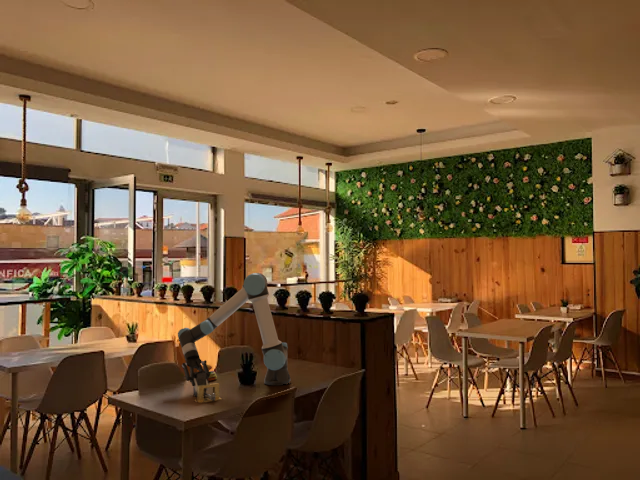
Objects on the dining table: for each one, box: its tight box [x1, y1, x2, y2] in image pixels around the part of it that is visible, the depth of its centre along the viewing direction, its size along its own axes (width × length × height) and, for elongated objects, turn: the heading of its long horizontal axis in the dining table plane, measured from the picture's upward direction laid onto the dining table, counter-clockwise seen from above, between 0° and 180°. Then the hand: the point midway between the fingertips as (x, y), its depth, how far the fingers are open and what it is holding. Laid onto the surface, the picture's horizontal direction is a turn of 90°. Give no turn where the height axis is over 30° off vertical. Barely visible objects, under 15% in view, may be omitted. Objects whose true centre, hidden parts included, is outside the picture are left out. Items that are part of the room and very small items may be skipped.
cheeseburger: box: [196, 364, 218, 382], centre depth 320 cm, size 10×11×10 cm
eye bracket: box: [194, 382, 223, 404], centre depth 273 cm, size 12×6×8 cm, turn 125°
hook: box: [192, 371, 216, 402], centre depth 275 cm, size 5×21×12 cm, turn 35°
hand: (202, 389), depth 279 cm, fingers closed on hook, 5 cm apart
